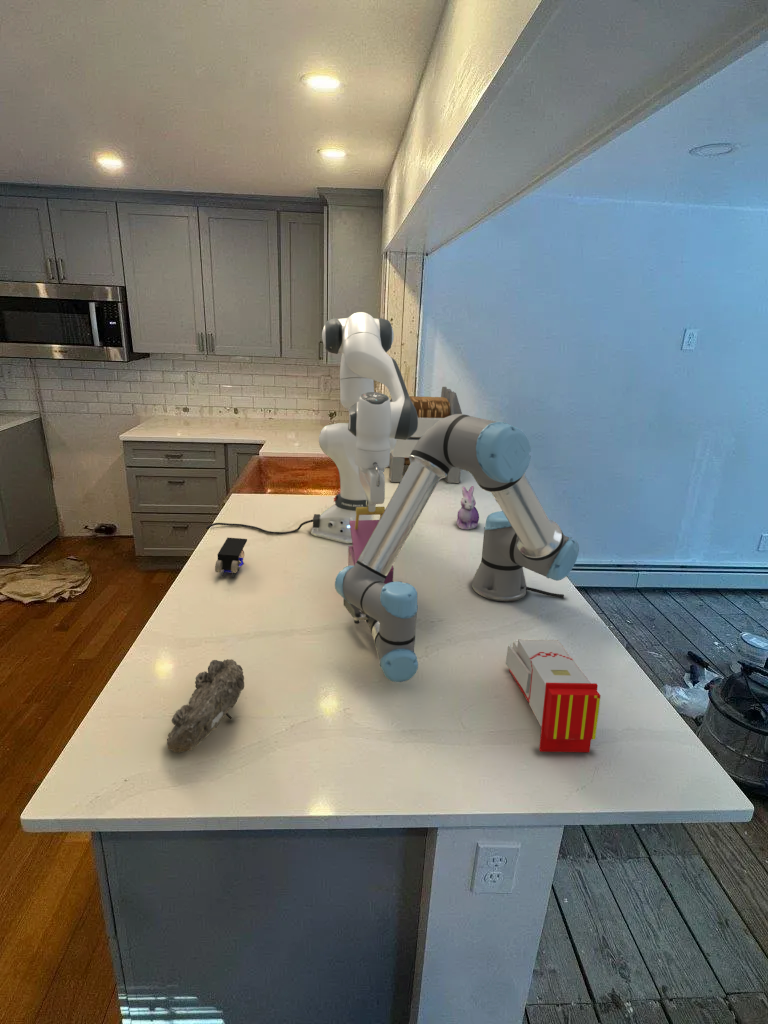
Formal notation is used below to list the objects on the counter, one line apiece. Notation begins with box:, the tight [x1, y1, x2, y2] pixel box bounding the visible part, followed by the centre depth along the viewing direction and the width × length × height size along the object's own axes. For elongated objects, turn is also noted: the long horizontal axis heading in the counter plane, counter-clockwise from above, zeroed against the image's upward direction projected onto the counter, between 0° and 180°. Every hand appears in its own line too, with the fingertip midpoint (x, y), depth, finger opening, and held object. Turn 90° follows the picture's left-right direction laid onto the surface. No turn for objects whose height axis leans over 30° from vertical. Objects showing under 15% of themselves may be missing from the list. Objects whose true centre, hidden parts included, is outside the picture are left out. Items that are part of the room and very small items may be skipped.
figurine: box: [456, 485, 480, 530], centre depth 208 cm, size 9×10×15 cm
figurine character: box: [214, 537, 248, 578], centre depth 166 cm, size 7×8×15 cm
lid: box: [349, 506, 395, 572], centre depth 148 cm, size 18×10×9 cm, turn 11°
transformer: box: [387, 386, 463, 484], centre depth 268 cm, size 34×33×41 cm
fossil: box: [166, 658, 245, 754], centre depth 106 cm, size 22×10×15 cm
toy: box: [505, 638, 602, 753], centre depth 114 cm, size 12×13×30 cm
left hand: (370, 508), depth 150 cm, fingers closed, pressing on lid
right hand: (372, 584), depth 150 cm, fingers closed on chest, 9 cm apart
